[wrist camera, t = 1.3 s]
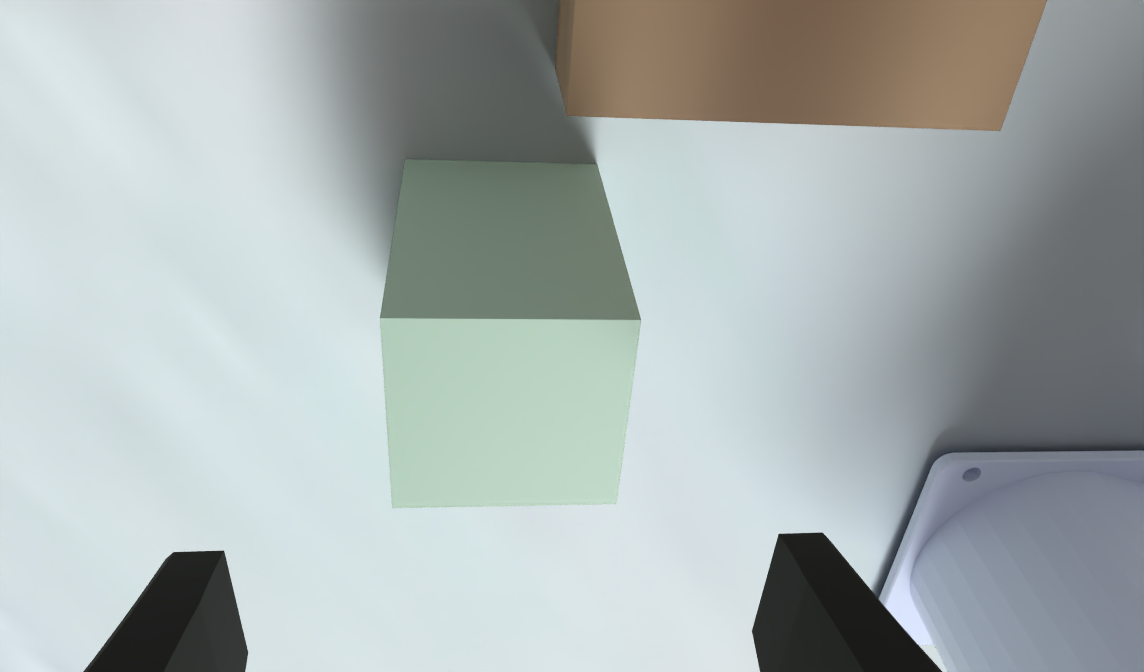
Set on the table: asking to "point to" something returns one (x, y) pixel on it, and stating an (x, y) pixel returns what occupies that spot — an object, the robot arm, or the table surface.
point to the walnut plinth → (796, 60)
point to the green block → (506, 337)
